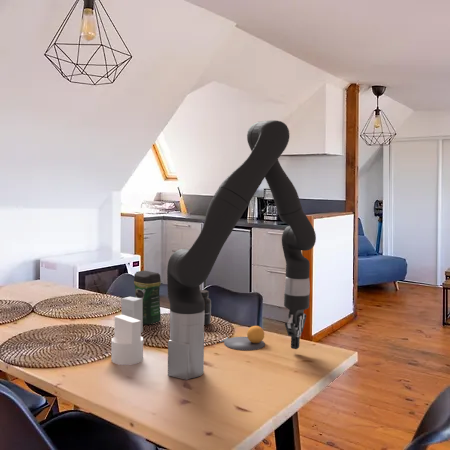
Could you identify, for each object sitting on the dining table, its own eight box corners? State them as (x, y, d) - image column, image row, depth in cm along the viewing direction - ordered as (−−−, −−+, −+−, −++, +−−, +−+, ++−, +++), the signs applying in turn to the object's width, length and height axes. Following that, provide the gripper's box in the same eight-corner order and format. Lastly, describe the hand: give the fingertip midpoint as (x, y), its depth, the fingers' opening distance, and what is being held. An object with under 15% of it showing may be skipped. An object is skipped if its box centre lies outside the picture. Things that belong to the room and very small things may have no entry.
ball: (256, 348, 160) (262, 334, 158) (242, 340, 162) (246, 326, 160) (264, 342, 165) (269, 328, 163) (249, 334, 167) (254, 320, 165)
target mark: (254, 353, 153) (254, 352, 153) (216, 345, 159) (216, 345, 159) (271, 341, 165) (271, 340, 165) (235, 335, 171) (235, 334, 171)
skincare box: (143, 333, 170) (143, 298, 169) (134, 336, 167) (134, 301, 166) (129, 330, 174) (129, 296, 172) (120, 333, 170) (120, 298, 169)
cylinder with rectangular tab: (149, 359, 146) (149, 318, 145) (123, 367, 140) (123, 324, 139) (130, 351, 152) (130, 312, 151) (105, 359, 146) (105, 318, 145)
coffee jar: (164, 322, 184) (164, 271, 183) (147, 326, 178) (148, 274, 177) (146, 317, 190) (146, 268, 189) (130, 321, 184) (130, 271, 183)
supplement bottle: (208, 327, 179) (208, 293, 178) (189, 325, 180) (189, 292, 179) (212, 322, 186) (213, 289, 185) (194, 320, 187) (194, 288, 186)
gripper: (301, 297, 145) (299, 357, 146) (315, 289, 156) (313, 344, 158) (277, 294, 148) (275, 352, 150) (292, 286, 160) (291, 340, 161)
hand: (295, 348), depth 154 cm, fingers closed
